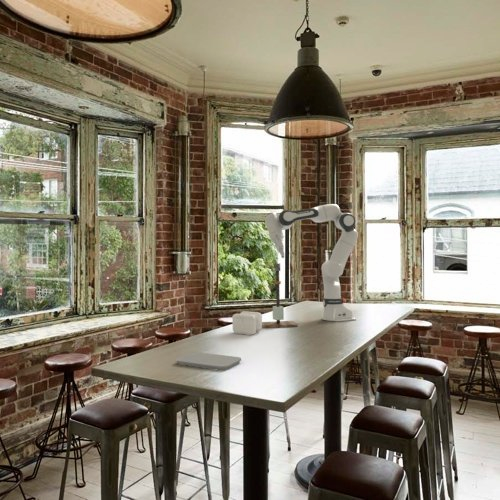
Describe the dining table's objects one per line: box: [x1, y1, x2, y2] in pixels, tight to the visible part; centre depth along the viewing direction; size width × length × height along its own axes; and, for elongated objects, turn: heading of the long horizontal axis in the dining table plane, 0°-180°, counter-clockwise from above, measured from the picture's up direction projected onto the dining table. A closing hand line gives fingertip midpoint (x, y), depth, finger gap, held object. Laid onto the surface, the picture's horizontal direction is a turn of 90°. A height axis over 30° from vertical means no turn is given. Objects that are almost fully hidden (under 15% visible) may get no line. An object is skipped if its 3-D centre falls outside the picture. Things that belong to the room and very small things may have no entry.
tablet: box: [176, 351, 242, 371], centre depth 198 cm, size 16×26×2 cm, turn 63°
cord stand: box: [262, 263, 299, 329], centre depth 282 cm, size 22×13×39 cm, turn 99°
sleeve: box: [272, 305, 285, 321], centre depth 283 cm, size 5×5×8 cm
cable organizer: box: [231, 310, 263, 336], centre depth 262 cm, size 15×11×12 cm
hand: (283, 256), depth 295 cm, fingers open, 8 cm apart
